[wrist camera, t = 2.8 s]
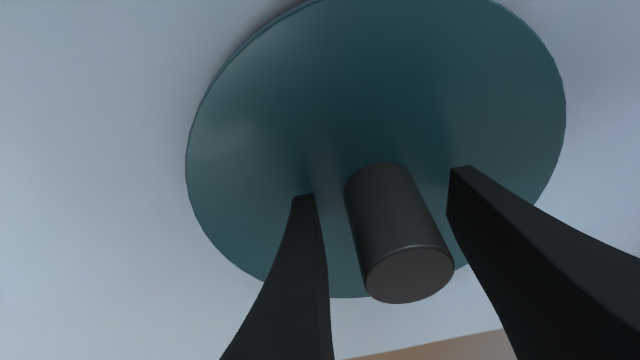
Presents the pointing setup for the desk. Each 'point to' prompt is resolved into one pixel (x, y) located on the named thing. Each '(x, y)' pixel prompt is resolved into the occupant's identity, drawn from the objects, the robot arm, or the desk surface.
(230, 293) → the desk surface
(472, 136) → the lid
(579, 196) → the desk surface
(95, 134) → the desk surface
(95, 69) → the desk surface
